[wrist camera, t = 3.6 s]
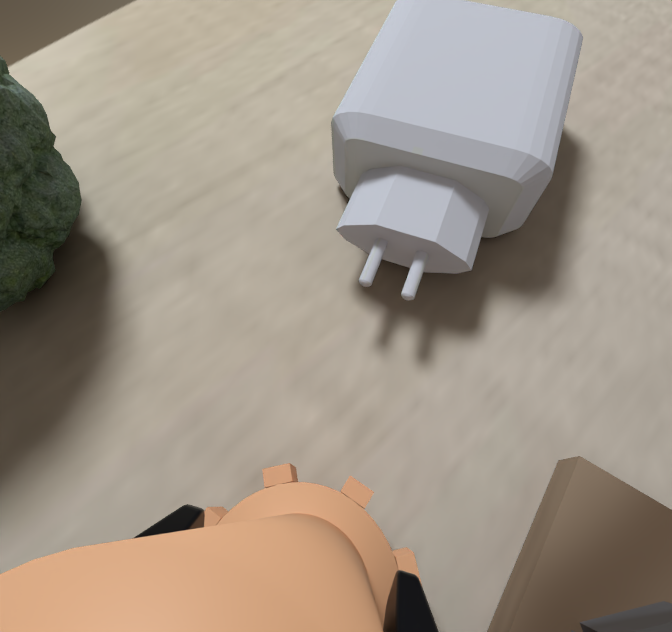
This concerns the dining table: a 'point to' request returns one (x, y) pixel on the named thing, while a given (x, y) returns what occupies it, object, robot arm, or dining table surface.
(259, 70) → the dining table surface
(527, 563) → the gear board
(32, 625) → the gear spindle
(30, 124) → the vegetable
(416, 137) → the charger
